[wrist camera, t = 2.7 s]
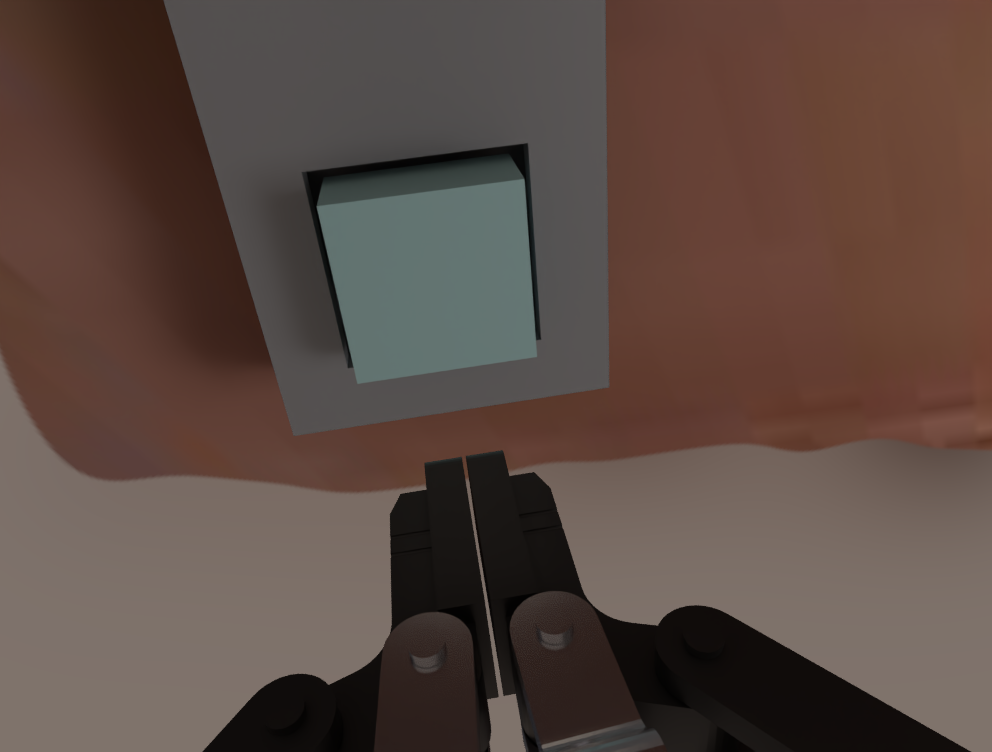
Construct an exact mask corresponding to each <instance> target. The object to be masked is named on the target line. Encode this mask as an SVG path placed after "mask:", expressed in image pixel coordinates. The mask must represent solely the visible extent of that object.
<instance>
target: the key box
mask: <svg viewBox="0 0 992 752" xmlns="http://www.w3.org/2000/svg"><path fill="white" fill-rule="evenodd" d="M163 1H164V4H165V7H166V11H167V14H168V17H169V21H170V24H171V27H172V31H173V34H174V37H175V41H176V44H177V47H178V51H179V54H180V57H181V61H182V64H183V67H184V71H185V74H186V77H187V81H188V84H189V87H190V91H191V94H192V97H193V101H194V104H195V107H196V111H197V114H198V117H199V121H200V124H201V127H202V131H203V134H204V138H205V141H206V144H207V148H208V151H209V154H210V158H211V161H212V164H213V168H214V171H215V174H216V178H217V181H218V184H219V188H220V191H221V194H222V198H223V201H224V204H225V208H226V211H227V214H228V218H229V221H230V224H231V228H232V231H233V234H234V238H235V241H236V244H237V248H238V251H239V254H240V258H241V261H242V264H243V268H244V271H245V275H246V278H247V281H248V285H249V288H250V291H251V295H252V298H253V301H254V305H255V308H256V311H257V315H258V318H259V321H260V325H261V328H262V331H263V335H264V338H265V341H266V345H267V348H268V351H269V355H270V358H271V361H272V365H273V368H274V371H275V375H276V378H277V381H278V385H279V388H280V391H281V395H282V398H283V401H284V405H285V408H286V412H287V415H288V418H289V422H290V425H291V428H292V432H293V435H294V436H296V435H303V434H309V433H316V432H322V431H329V430H335V429H342V428H348V427H355V426H361V425H368V424H374V423H381V422H387V421H394V420H400V419H407V418H413V417H420V416H426V415H433V414H439V413H446V412H452V411H459V410H465V409H472V408H478V407H485V406H491V405H497V404H504V403H510V402H517V401H523V400H530V399H536V398H543V397H549V396H556V395H562V394H569V393H575V392H582V391H588V390H595V389H601V388H608V387H609V317H608V216H607V114H606V12H605V0H163ZM508 153H509V155H510V156H511V158H512V160H513V161H514V163H515V164H516V166H517V168H518V169H519V171H520V173H521V174H522V176H523V177H524V180H525V194H526V208H527V222H528V237H529V251H530V265H531V279H532V293H533V307H534V321H535V335H536V349H537V357H533V358H527V359H520V360H513V361H507V362H500V363H493V364H487V365H480V366H473V367H467V368H460V369H453V370H447V371H440V372H433V373H427V374H420V375H413V376H407V377H400V378H393V379H387V380H380V381H373V382H367V383H360V384H357V380H356V375H355V371H354V367H353V362H352V358H351V354H350V349H349V345H348V340H347V336H346V332H345V327H344V323H343V319H342V314H341V310H340V306H339V301H338V297H337V293H336V288H335V284H334V280H333V275H332V271H331V267H330V262H329V258H328V254H327V249H326V245H325V240H324V236H323V232H322V227H321V223H320V219H319V214H318V210H317V203H318V199H319V195H320V191H321V187H322V183H323V179H324V177H330V176H338V175H346V174H353V173H361V172H369V171H377V170H384V169H392V168H400V167H407V166H415V165H423V164H430V163H438V162H446V161H454V160H461V159H469V158H477V157H484V156H492V155H500V154H508Z"/></svg>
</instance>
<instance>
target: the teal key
mask: <svg viewBox="0 0 992 752" xmlns="http://www.w3.org/2000/svg"><path fill="white" fill-rule="evenodd" d="M317 210H318V214H319V219H320V223H321V227H322V232H323V236H324V240H325V245H326V249H327V254H328V258H329V262H330V267H331V271H332V275H333V280H334V284H335V288H336V293H337V297H338V301H339V306H340V310H341V314H342V319H343V323H344V327H345V332H346V336H347V340H348V345H349V349H350V354H351V358H352V362H353V367H354V371H355V375H356V380H357V384H360V383H367V382H373V381H380V380H387V379H393V378H400V377H407V376H413V375H420V374H427V373H433V372H440V371H447V370H453V369H460V368H467V367H473V366H480V365H487V364H493V363H500V362H507V361H513V360H520V359H527V358H533V357H537V349H536V335H535V321H534V307H533V293H532V279H531V265H530V251H529V237H528V222H527V208H526V194H525V180H524V177H523V176H522V174H521V173H520V171H519V169H518V168H517V166H516V164H515V163H514V161H513V160H512V158H511V156H510V155H509V153H508V154H500V155H492V156H484V157H477V158H469V159H461V160H454V161H446V162H438V163H430V164H423V165H415V166H407V167H400V168H392V169H384V170H377V171H369V172H361V173H353V174H346V175H338V176H330V177H324V179H323V183H322V187H321V191H320V195H319V199H318V203H317Z"/></svg>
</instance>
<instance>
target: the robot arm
mask: <svg viewBox="0 0 992 752" xmlns="http://www.w3.org/2000/svg"><path fill="white" fill-rule="evenodd" d="M466 461H467V468H468V475H469V482H470V489H471V495H472V503H473V510H474V516H475V524H476V530H477V537H478V543H479V549H480V555H481V561H482V567H483V573H484V580H485V586H486V592H487V598H488V603H489V609H490V616H491V622H492V628H493V634H494V640H495V645H496V652H497V658H498V664H499V670H500V676H501V682H502V688H503V694H504V696H505V695H511V694H516V697H517V702H518V708H519V714H520V719H521V727H522V735H523V742H524V746H525V749H526V752H971V751H968V750H967V749H965V748H963V747H961V746H960V745H958V744H956V743H955V742H953V741H951V740H949V739H947V738H946V737H944V736H942V735H940V734H939V733H937V732H935V731H933V730H932V729H930V728H928V727H926V726H925V725H923V724H921V723H919V722H918V721H916V720H914V719H912V718H910V717H909V716H907V715H905V714H903V713H902V712H900V711H898V710H896V709H895V708H893V707H891V706H889V705H887V704H886V703H884V702H882V701H880V700H879V699H877V698H875V697H873V696H871V695H870V694H868V693H866V692H865V691H863V690H861V689H859V688H857V687H856V686H854V685H852V684H850V683H848V682H847V681H845V680H843V679H842V678H840V677H838V676H836V675H834V674H833V673H831V672H829V671H827V670H825V669H824V668H822V667H820V666H819V665H817V664H815V663H813V662H811V661H810V660H808V659H806V658H804V657H803V656H801V655H799V654H797V653H796V652H794V651H792V650H790V649H789V648H787V647H785V646H783V645H781V644H780V643H778V642H776V641H774V640H773V639H771V638H769V637H767V636H766V635H764V634H762V633H760V632H758V631H757V630H755V629H753V628H751V627H750V626H748V625H746V624H744V623H742V622H741V621H739V620H737V619H735V618H734V617H732V616H730V615H728V614H726V613H724V612H722V611H720V610H718V609H715V608H712V607H706V606H697V605H695V606H685V607H681V608H679V609H676V610H673V611H672V612H670V613H668V614H667V615H666V616H665V617H664V618H663V619H662V620H661V622H660V623H659V625H658V626H656V625H647V624H637V623H629V622H624V621H620V620H617V619H613V618H611V617H609V616H607V615H605V614H603V613H602V612H600V611H599V610H598V609H596V608H595V607H594V606H593V605H592V604H591V603H590V602H589V601H588V599H587V598H586V596H585V595H584V592H583V590H582V587H581V584H580V581H579V578H578V574H577V571H576V568H575V565H574V561H573V559H572V555H571V552H570V549H569V546H568V542H567V539H566V536H565V533H564V530H563V528H562V523H561V520H560V517H559V514H558V512H557V507H556V504H555V501H554V498H553V495H552V492H551V489H550V487H549V486H548V485H547V484H546V483H545V482H543V480H542V479H541V478H539V477H538V476H537V475H536V474H535V473H534V472H533V473H526V474H521V475H514V476H509V473H508V469H507V465H506V460H505V456H504V453H503V450H501V451H495V452H489V453H483V454H476V455H470V456H466ZM425 476H426V488H427V490H422V491H416V492H410V493H404V494H400V496H399V498H398V500H397V502H396V504H395V506H394V508H393V510H392V512H391V514H390V536H391V543H390V544H391V598H392V600H391V601H392V626H391V627H392V628H391V632H390V635H389V636H388V638H387V640H386V642H385V644H384V647H383V649H382V650H381V652H380V653H379V654H378V655H377V656H376V657H375V658H374V659H373V660H372V661H371V662H370V663H369V664H367V665H366V666H365V667H363V668H362V669H360V670H358V671H356V672H354V673H353V674H351V675H348V676H346V677H345V678H342V679H340V680H338V681H336V682H334V683H332V684H330V685H328V684H327V683H326V682H325V681H323V680H321V679H320V678H318V677H316V676H313V675H308V674H293V675H288V676H285V677H281V678H279V679H277V680H274V681H272V682H271V683H269V684H267V685H266V686H264V687H263V688H262V689H260V690H259V691H258V692H257V693H256V694H255V695H254V696H253V697H252V698H251V699H250V700H249V701H248V702H247V703H246V704H245V706H244V707H243V708H242V709H241V710H240V711H239V712H238V713H237V715H235V717H234V718H233V719H232V720H231V721H230V722H229V723H228V724H227V725H226V727H225V728H224V729H223V730H222V731H221V732H220V733H219V734H218V735H217V736H216V738H215V739H214V740H213V741H212V742H211V743H210V744H209V745H208V746H207V747H206V748H205V750H204V751H203V752H490V744H489V741H490V736H491V724H490V716H489V709H488V702H487V699H491V698H496V697H498V689H497V683H496V676H495V669H494V662H493V655H492V648H491V641H490V635H489V628H488V621H487V614H486V607H485V600H484V594H483V588H482V581H481V575H480V569H479V563H478V556H477V550H476V545H475V538H474V531H473V525H472V519H471V512H470V507H469V500H468V494H467V488H466V481H465V475H464V469H463V462H462V457H458V458H452V459H446V460H440V461H433V462H427V463H425Z"/></svg>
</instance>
